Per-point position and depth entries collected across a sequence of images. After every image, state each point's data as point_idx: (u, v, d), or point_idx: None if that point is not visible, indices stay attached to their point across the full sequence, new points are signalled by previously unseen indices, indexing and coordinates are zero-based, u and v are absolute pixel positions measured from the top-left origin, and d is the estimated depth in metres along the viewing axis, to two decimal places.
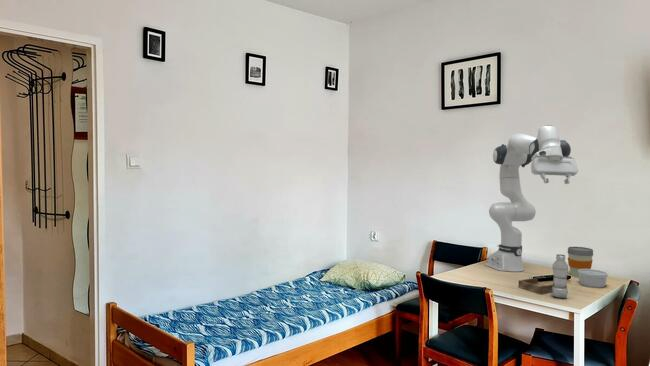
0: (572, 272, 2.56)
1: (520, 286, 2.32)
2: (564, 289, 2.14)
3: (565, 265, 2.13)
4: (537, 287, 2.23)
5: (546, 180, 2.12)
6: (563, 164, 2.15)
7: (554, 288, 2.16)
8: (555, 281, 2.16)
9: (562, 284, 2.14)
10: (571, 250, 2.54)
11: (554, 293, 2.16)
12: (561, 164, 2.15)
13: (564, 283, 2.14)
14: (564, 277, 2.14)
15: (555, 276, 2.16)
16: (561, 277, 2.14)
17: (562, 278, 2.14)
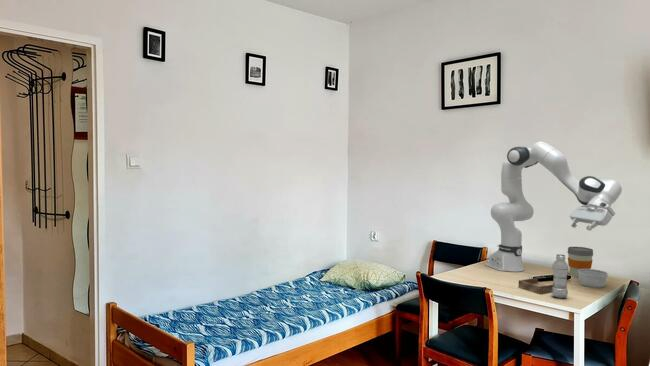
0: (572, 272, 2.56)
1: (520, 286, 2.32)
2: (564, 289, 2.14)
3: (565, 265, 2.13)
4: (537, 287, 2.23)
5: None
6: None
7: (554, 288, 2.16)
8: (555, 281, 2.16)
9: (562, 284, 2.14)
10: (571, 250, 2.54)
11: (554, 293, 2.16)
12: None
13: (564, 283, 2.14)
14: (564, 277, 2.14)
15: (555, 276, 2.16)
16: (561, 277, 2.14)
17: (562, 278, 2.14)
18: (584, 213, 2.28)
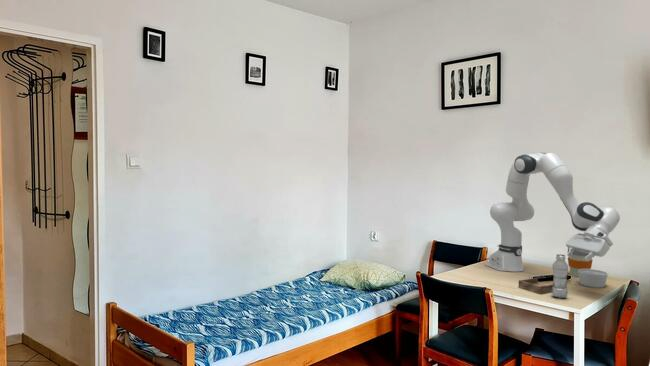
0: (572, 272, 2.56)
1: (520, 286, 2.32)
2: (564, 289, 2.14)
3: (565, 265, 2.13)
4: (537, 287, 2.23)
5: None
6: None
7: (554, 288, 2.16)
8: (555, 281, 2.16)
9: (562, 284, 2.14)
10: None
11: (554, 293, 2.16)
12: None
13: (564, 283, 2.14)
14: (564, 277, 2.14)
15: (555, 276, 2.16)
16: (561, 277, 2.14)
17: (562, 278, 2.14)
18: (581, 242, 2.21)
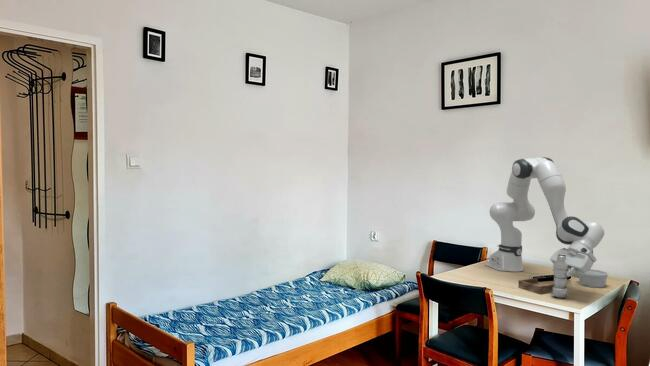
0: None
1: (520, 286, 2.32)
2: (564, 289, 2.14)
3: (566, 265, 2.13)
4: (537, 287, 2.23)
5: None
6: None
7: (554, 288, 2.16)
8: (555, 281, 2.15)
9: (563, 284, 2.14)
10: None
11: (554, 293, 2.16)
12: None
13: (564, 283, 2.14)
14: (564, 277, 2.13)
15: (555, 276, 2.15)
16: (561, 277, 2.14)
17: (562, 278, 2.13)
18: None
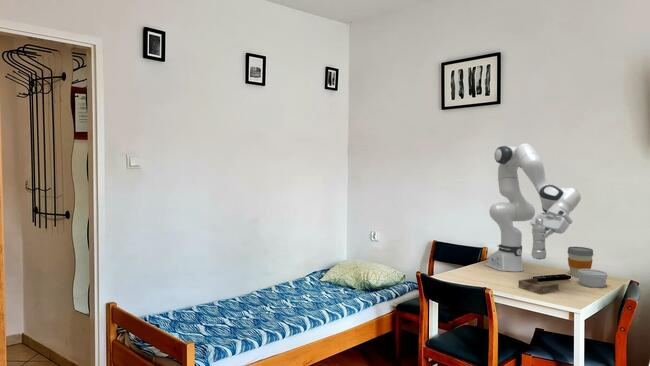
0: (572, 272, 2.56)
1: (520, 286, 2.32)
2: (543, 251, 2.26)
3: (544, 228, 2.26)
4: (537, 287, 2.23)
5: None
6: None
7: (533, 250, 2.28)
8: (534, 243, 2.28)
9: (541, 246, 2.26)
10: (571, 250, 2.54)
11: (533, 255, 2.28)
12: None
13: (543, 245, 2.26)
14: (543, 239, 2.26)
15: (534, 239, 2.28)
16: (540, 239, 2.26)
17: (541, 240, 2.26)
18: None
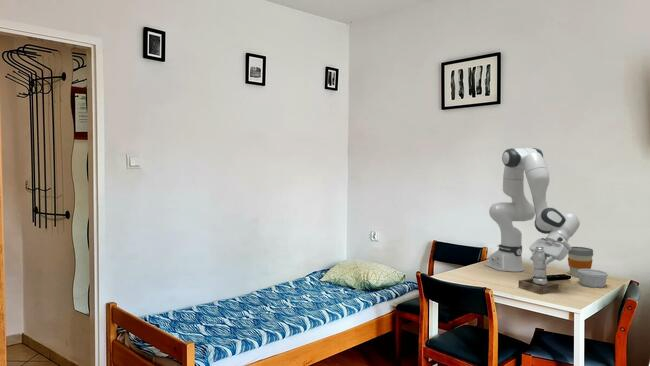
0: (572, 272, 2.56)
1: (520, 286, 2.32)
2: (544, 279, 2.26)
3: (544, 256, 2.26)
4: (537, 287, 2.23)
5: None
6: None
7: (535, 279, 2.28)
8: (535, 272, 2.27)
9: (542, 274, 2.26)
10: (571, 250, 2.54)
11: (535, 284, 2.27)
12: None
13: (544, 274, 2.26)
14: (543, 268, 2.26)
15: (535, 267, 2.27)
16: (540, 268, 2.26)
17: (542, 269, 2.26)
18: (542, 246, 2.32)
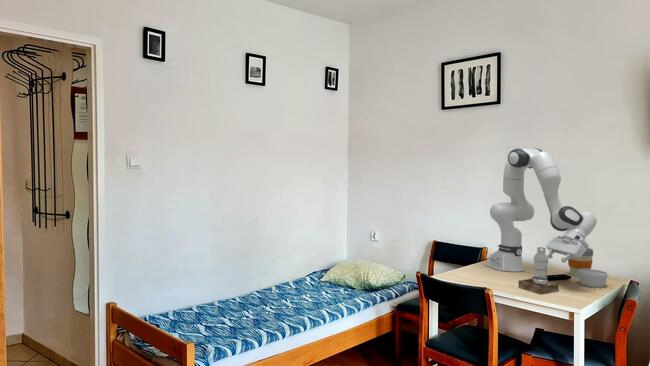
0: (572, 272, 2.56)
1: (520, 286, 2.32)
2: (544, 280, 2.25)
3: (545, 257, 2.25)
4: (537, 287, 2.23)
5: None
6: None
7: (535, 279, 2.27)
8: (536, 273, 2.27)
9: (543, 275, 2.25)
10: None
11: (535, 284, 2.27)
12: None
13: (544, 274, 2.25)
14: (544, 269, 2.25)
15: (536, 268, 2.27)
16: (541, 269, 2.25)
17: (543, 270, 2.25)
18: (560, 244, 2.35)
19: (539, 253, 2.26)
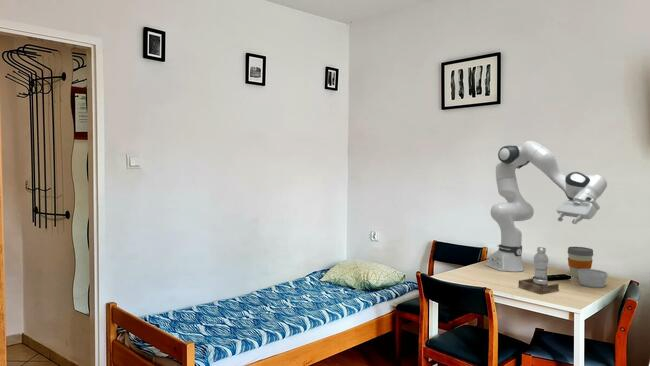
0: (572, 272, 2.56)
1: (520, 286, 2.32)
2: (544, 280, 2.25)
3: (545, 257, 2.25)
4: (537, 287, 2.23)
5: None
6: None
7: (535, 279, 2.27)
8: (536, 273, 2.27)
9: (543, 275, 2.25)
10: (571, 250, 2.54)
11: (535, 284, 2.27)
12: None
13: (544, 274, 2.26)
14: (544, 269, 2.25)
15: (536, 268, 2.27)
16: (541, 269, 2.25)
17: (543, 270, 2.25)
18: (570, 207, 2.33)
19: (539, 253, 2.26)
